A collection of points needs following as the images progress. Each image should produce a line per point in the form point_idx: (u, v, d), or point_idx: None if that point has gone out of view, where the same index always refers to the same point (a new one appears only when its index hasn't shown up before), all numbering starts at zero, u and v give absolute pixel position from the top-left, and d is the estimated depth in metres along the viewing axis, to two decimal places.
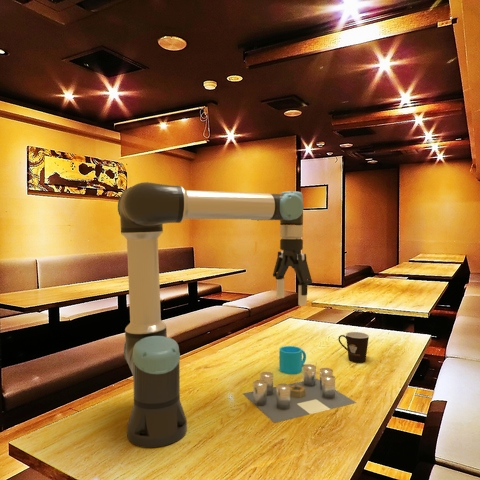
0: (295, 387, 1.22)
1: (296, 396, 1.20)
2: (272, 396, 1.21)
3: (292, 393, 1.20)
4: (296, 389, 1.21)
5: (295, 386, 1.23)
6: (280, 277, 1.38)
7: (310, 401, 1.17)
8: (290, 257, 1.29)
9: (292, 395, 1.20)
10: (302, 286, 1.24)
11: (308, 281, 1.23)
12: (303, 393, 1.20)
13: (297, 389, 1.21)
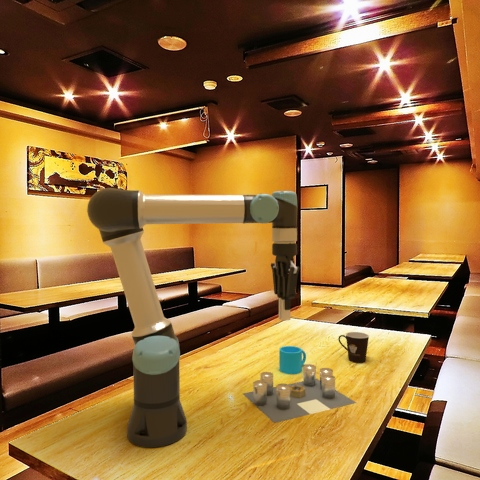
0: (295, 387, 1.22)
1: (296, 396, 1.20)
2: (272, 396, 1.21)
3: (292, 393, 1.20)
4: (296, 389, 1.21)
5: (295, 386, 1.23)
6: (283, 295, 1.21)
7: (310, 401, 1.17)
8: (283, 265, 1.17)
9: (292, 395, 1.20)
10: None
11: (291, 295, 1.16)
12: (303, 393, 1.20)
13: (297, 389, 1.21)
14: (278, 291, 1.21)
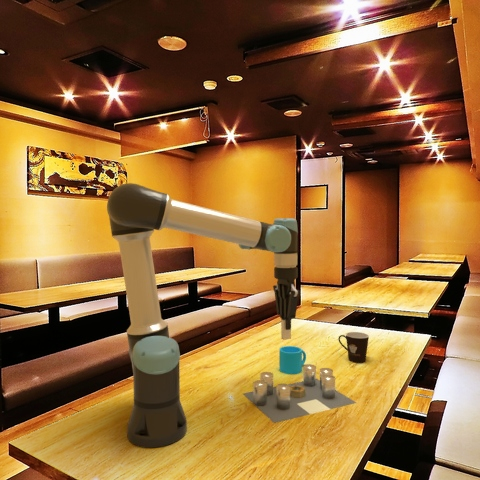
0: (295, 387, 1.22)
1: (296, 396, 1.20)
2: (272, 396, 1.21)
3: (292, 393, 1.20)
4: (296, 389, 1.21)
5: (295, 386, 1.23)
6: None
7: (310, 401, 1.17)
8: (284, 288, 1.24)
9: (292, 395, 1.20)
10: None
11: (291, 316, 1.24)
12: (303, 393, 1.20)
13: (297, 389, 1.21)
14: (280, 312, 1.28)
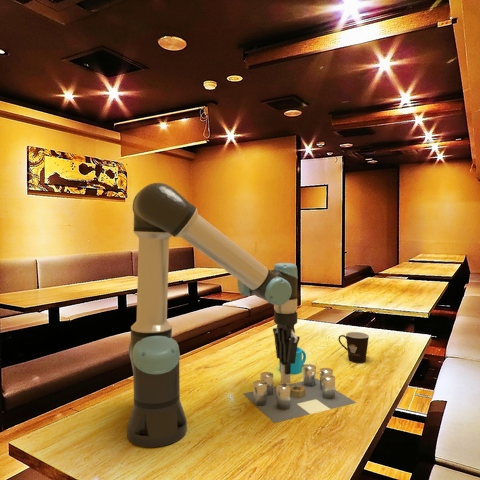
0: (295, 387, 1.22)
1: (296, 396, 1.20)
2: (272, 396, 1.21)
3: (292, 393, 1.20)
4: (296, 389, 1.21)
5: (295, 386, 1.23)
6: None
7: (310, 401, 1.17)
8: (284, 333, 1.25)
9: (292, 395, 1.20)
10: None
11: (291, 361, 1.25)
12: (303, 393, 1.20)
13: (297, 389, 1.21)
14: (280, 356, 1.28)
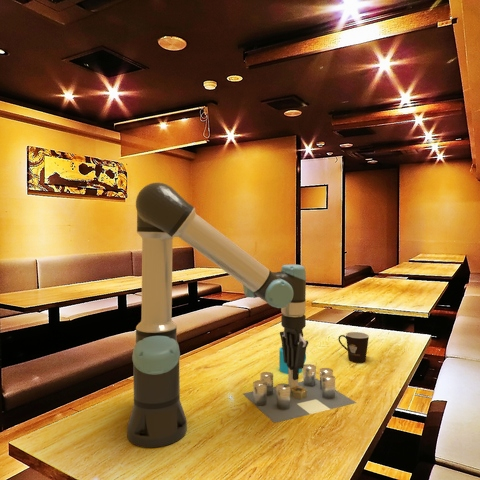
0: (297, 388, 1.22)
1: (297, 397, 1.19)
2: (272, 396, 1.21)
3: (293, 394, 1.19)
4: (297, 390, 1.21)
5: (297, 387, 1.22)
6: None
7: (310, 401, 1.17)
8: (292, 337, 1.21)
9: (293, 396, 1.19)
10: None
11: (299, 366, 1.20)
12: (304, 394, 1.20)
13: (298, 390, 1.20)
14: (288, 361, 1.24)
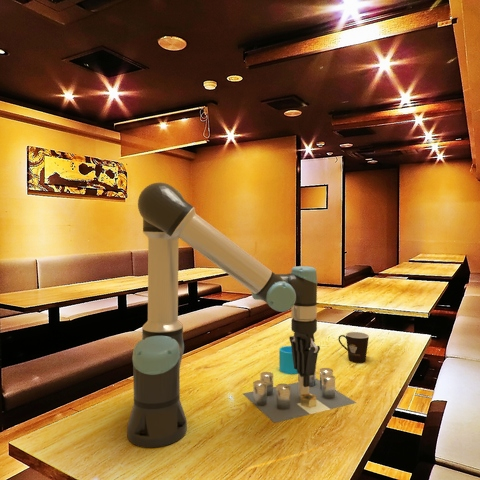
0: (306, 395, 1.16)
1: (305, 405, 1.14)
2: (272, 396, 1.21)
3: (301, 401, 1.15)
4: (306, 397, 1.15)
5: (307, 394, 1.17)
6: None
7: None
8: (303, 342, 1.16)
9: (301, 403, 1.15)
10: None
11: (310, 373, 1.15)
12: (313, 403, 1.14)
13: (307, 398, 1.15)
14: (298, 367, 1.19)
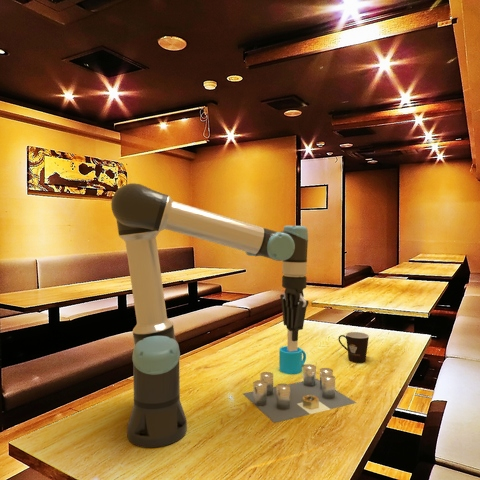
0: (309, 397, 1.15)
1: (308, 407, 1.13)
2: (272, 396, 1.21)
3: (304, 403, 1.14)
4: (308, 399, 1.14)
5: (309, 396, 1.16)
6: None
7: None
8: (292, 297, 1.20)
9: (304, 405, 1.14)
10: None
11: (299, 327, 1.19)
12: (316, 404, 1.13)
13: (309, 399, 1.14)
14: (287, 322, 1.23)
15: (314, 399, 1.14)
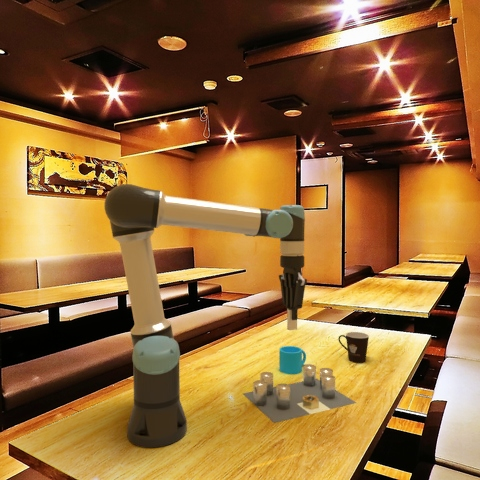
0: (309, 397, 1.15)
1: (308, 407, 1.13)
2: (272, 396, 1.21)
3: (304, 403, 1.14)
4: (308, 399, 1.14)
5: (309, 396, 1.16)
6: None
7: None
8: (291, 277, 1.21)
9: (304, 405, 1.14)
10: None
11: (298, 306, 1.20)
12: (316, 404, 1.13)
13: (309, 399, 1.14)
14: (286, 302, 1.24)
15: (314, 399, 1.14)
